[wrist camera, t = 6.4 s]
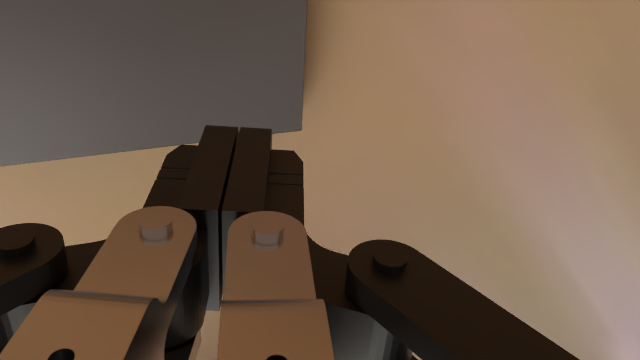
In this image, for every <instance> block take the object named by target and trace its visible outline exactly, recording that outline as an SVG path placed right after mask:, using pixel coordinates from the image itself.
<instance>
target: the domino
mask: <svg viewBox="0 0 640 360" xmlns="http://www.w3.org/2000/svg"><path fill="white" fill-rule="evenodd" d="M306 17H307V0H0V166H9V165H17V164H25V163H34V162H42V161H50V160H59V159H67V158H75V157H84V156H92V155H100V154H109V153H117V152H125V151H134V150H142V149H150V148H159V147H167V146H176V145H184V144H192V143H199V142H200V139H201V137H202V134H203V131H204V128H205V126H206V125H213V126H230V127H238V129H239V131H240V127H249V128H267V129H272V134H276V133H284V132H292V131H301V130H302V111H303V88H304V64H305V41H306Z"/></svg>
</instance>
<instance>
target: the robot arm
mask: <svg viewBox="0 0 640 360" xmlns="http://www.w3.org/2000/svg"><path fill="white" fill-rule="evenodd" d="M222 294H223V300H222ZM221 300H222V302H221ZM220 305H221V312H220V327H219V342H218V357H217V360H418V359H416V358H415V357H414V356H413V355H412V352H414V353H415V354H416V355H417V356H419V357H420V358H421V359H422V360H579V359H578V358H576V357H575V356H573V355H572V354H570V353H569V352H567V351H566V350H564V349H563V348H561V347H560V346H558V345H557V344H555V343H554V342H552V341H551V340H549V339H548V338H547V337H545V336H544V335H542V334H541V333H539V332H538V331H536V330H535V329H533V328H532V327H530V326H529V325H527V324H526V323H524V322H523V321H521V320H520V319H518V318H517V317H515V316H514V315H512V314H511V313H509V312H508V311H506V310H505V309H503V308H502V307H500V306H499V305H497V304H496V303H494V302H493V301H491V300H490V299H488V298H487V297H486V296H484V295H483V294H481V293H480V292H478V291H477V290H475V289H474V288H472V287H471V286H469V285H468V284H466V283H465V282H463V281H462V280H460V279H459V278H457V277H456V276H454V275H453V274H451V273H450V272H448V271H447V270H445V269H444V268H442V267H441V266H439V265H438V264H436V263H435V262H433V261H432V260H430V259H429V258H427V257H426V256H425V255H423V254H422V253H420V252H419V251H417V250H415V249H414V248H412V247H410V246H408V245H406V244H403V243H400V242H396V241H392V240H371V241H366V242H363V243H361V244H359V245H357V246H356V247H354V248H353V249H352V250H351V252H350V254H349V256H348V255H344V254H340V253H336V252H333V251H330V250H328V249H325V248H323V247H321V246H320V245H318V244H316V243H315V242H314V241H313V240H312V239H311V238H310V237H309V236H308V235H307V233H306V229H305V227H304V189H303V161H302V160H301V159H300V158H299V156H298V155H297V154H296V153H295V152H294V151H289V150H272V129H267V128H249V127H240V131H239V129H238V127H230V126H213V125H206V126H205V128H204V131H203V134H202V137H201V139H200V142H199V145H198V146H196V145H180V146H179V147H177V148H176V149H174V150H173V151H172V152H170V153H169V154H167V156H166V158H165V160H164V162H163V165H162V167H161V170H160V171H159V173H158V176H157V180H155V182H154V184H153V187H152V189H151V191H150V193H149V195H148V198H147V200H146V202H145V204H144V207H143V208H142V209H139V210H136V211H133V212H131V213H129V214H127V215H125V216H124V217H123V218H121V219H120V220H119V221H118V223H117V224H116V225H115V227H114V228H113V230H112V231H111V233H110V235H109V236H108V238H107V239H105V240H102V241H97V242H92V243H85V244H79V245H72V246H66V247H65V245H64V240H63V236H62V234H61V233H60V232H59V231H58V230H57V229H55V228H54V227H51V226H49V225H45V224H39V223H23V224H15V225H10V226H6V227H3V228H0V360H196V357H197V353H198V350H199V347H200V343H201V327H202V324H203V321H204V316H205V311H206V310H211V311H220Z"/></svg>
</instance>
